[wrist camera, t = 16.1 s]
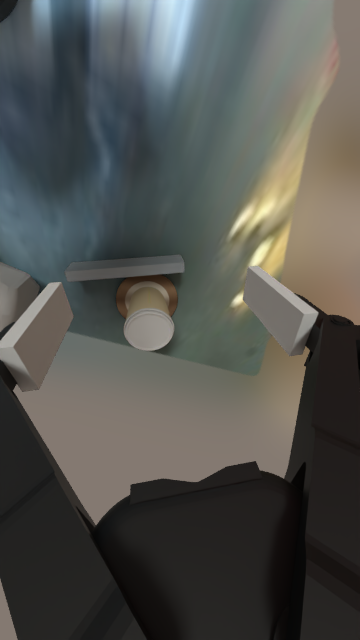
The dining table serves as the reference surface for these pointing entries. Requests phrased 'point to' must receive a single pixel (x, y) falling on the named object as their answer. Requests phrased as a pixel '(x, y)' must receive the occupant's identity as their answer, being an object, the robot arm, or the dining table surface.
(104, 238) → the dining table surface
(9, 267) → the white open storage bin
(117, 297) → the walnut mat
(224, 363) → the dining table surface
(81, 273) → the grey wall
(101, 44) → the dining table surface
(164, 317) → the coffee cup
